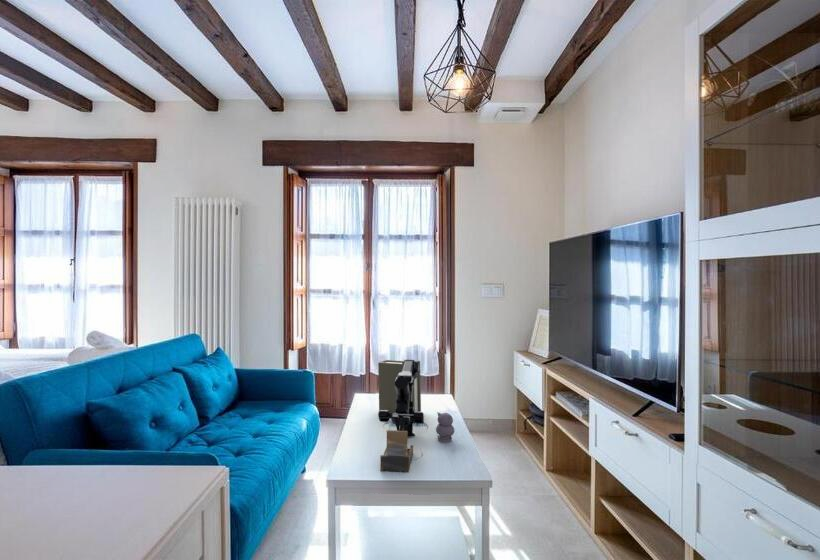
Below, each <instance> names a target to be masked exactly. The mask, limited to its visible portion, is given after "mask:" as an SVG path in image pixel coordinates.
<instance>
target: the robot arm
mask: <svg viewBox="0 0 820 560" xmlns="http://www.w3.org/2000/svg"><path fill="white" fill-rule="evenodd" d="M403 361H404V362H403V363H402V372H401V373H399V374H398V377H396V380H395V388H396V393H397V399H396V407H395V413H389V411H388V410H380V411H379V410H378V414H377V415H378V420H379V422H381V423H388V422H389V421H390V419H391V421H392V425H395V428H396V430H397V431H408V435H407V439H408V438H411V437H415V436H416V433H414V431H413V430H414V428H413V427H414V426H413V424H414V425H415V424H419V425H420V424H422V425H423V424H424V422H425V421H424V420H425V417H424V416H425V415H424V412H423V411H421V412H418V411H415V410H414V405H413V402H412V393H413V385H414V383H415V379H416V378H417V375H418V373H419V363H417V362H415V361H416V360H415V359H413V358H405V359H404V360H403Z"/></svg>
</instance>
